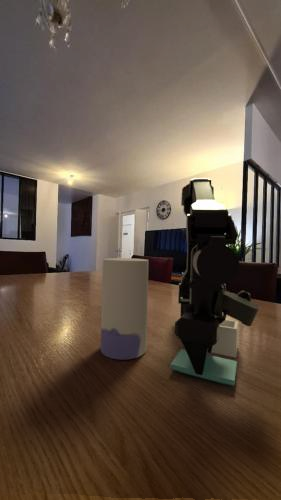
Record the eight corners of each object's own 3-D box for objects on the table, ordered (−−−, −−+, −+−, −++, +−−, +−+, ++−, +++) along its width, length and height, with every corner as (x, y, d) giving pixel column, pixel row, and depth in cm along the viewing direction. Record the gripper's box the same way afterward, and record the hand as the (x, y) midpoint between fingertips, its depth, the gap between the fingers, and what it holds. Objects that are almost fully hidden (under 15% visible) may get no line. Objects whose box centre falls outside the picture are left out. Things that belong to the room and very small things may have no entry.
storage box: (188, 347, 52) (189, 321, 52) (194, 338, 57) (194, 314, 57) (236, 357, 47) (236, 329, 47) (237, 347, 53) (238, 321, 53)
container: (151, 344, 53) (153, 258, 53) (137, 364, 44) (139, 260, 44) (113, 337, 56) (115, 257, 56) (91, 355, 47) (94, 258, 47)
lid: (170, 375, 41) (170, 364, 41) (181, 358, 47) (181, 348, 47) (233, 393, 36) (234, 380, 36) (236, 371, 42) (236, 361, 42)
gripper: (257, 288, 29) (254, 408, 30) (254, 275, 46) (252, 351, 46) (174, 281, 34) (172, 384, 34) (199, 271, 51) (197, 340, 51)
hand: (204, 362), depth 41 cm, fingers open, 9 cm apart
